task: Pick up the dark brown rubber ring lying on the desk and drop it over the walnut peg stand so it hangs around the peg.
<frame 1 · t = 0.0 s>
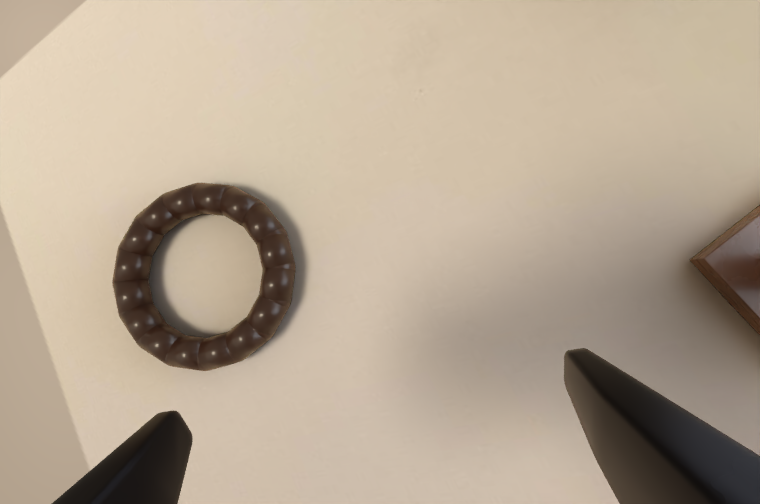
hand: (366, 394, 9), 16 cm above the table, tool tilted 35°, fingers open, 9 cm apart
ring: (203, 274, 26), point 1 cm above the table
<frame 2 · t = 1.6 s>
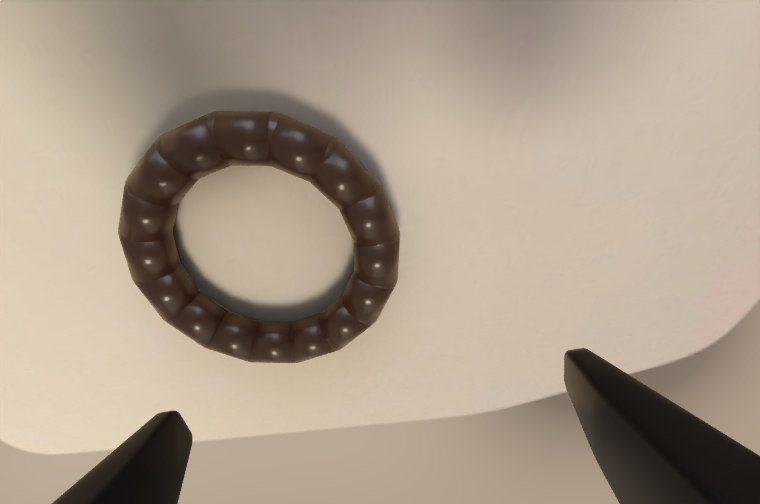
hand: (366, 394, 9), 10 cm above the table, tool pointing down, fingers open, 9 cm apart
ring: (264, 253, 18), point 1 cm above the table
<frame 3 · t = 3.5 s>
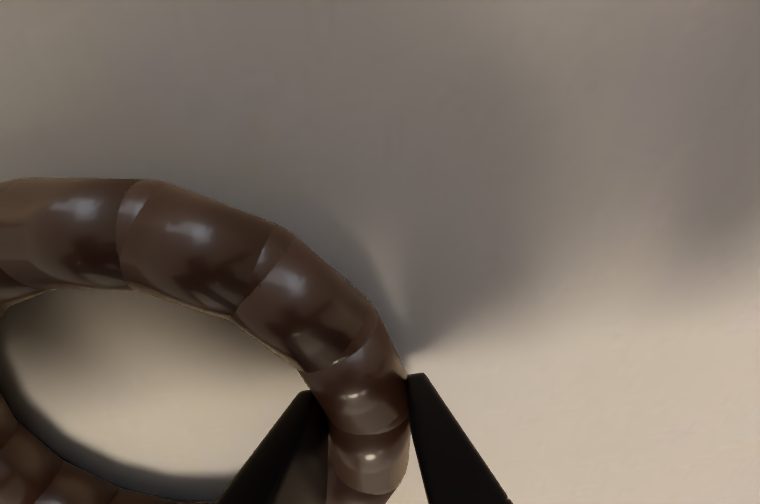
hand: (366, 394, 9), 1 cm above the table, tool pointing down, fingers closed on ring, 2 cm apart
ring: (160, 424, 9), point 1 cm above the table, touching gripper
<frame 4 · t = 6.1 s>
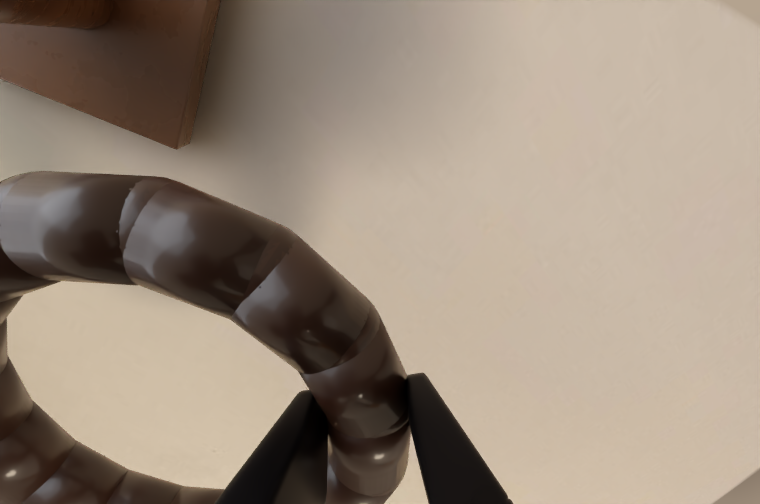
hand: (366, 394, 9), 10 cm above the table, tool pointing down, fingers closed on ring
ring: (165, 414, 10), point 10 cm above the table, touching gripper
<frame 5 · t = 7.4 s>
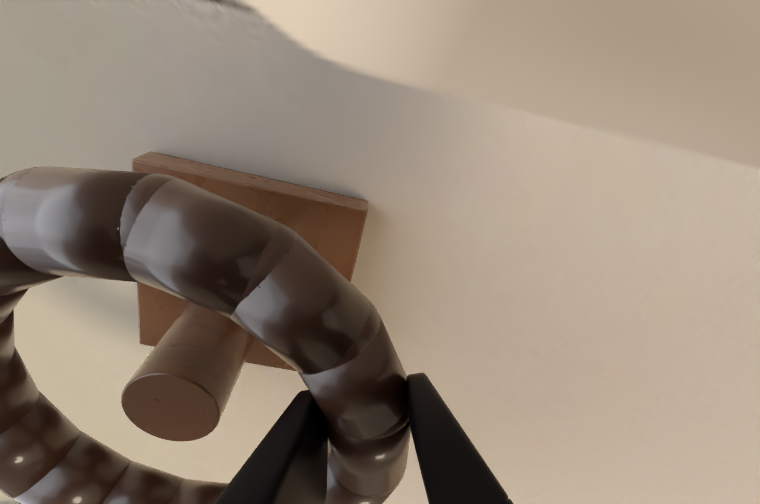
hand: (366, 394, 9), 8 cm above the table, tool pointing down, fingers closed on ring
peg stand: (252, 268, 16), on the table
ring: (167, 408, 10), point 7 cm above the table, tilted 5°, touching gripper
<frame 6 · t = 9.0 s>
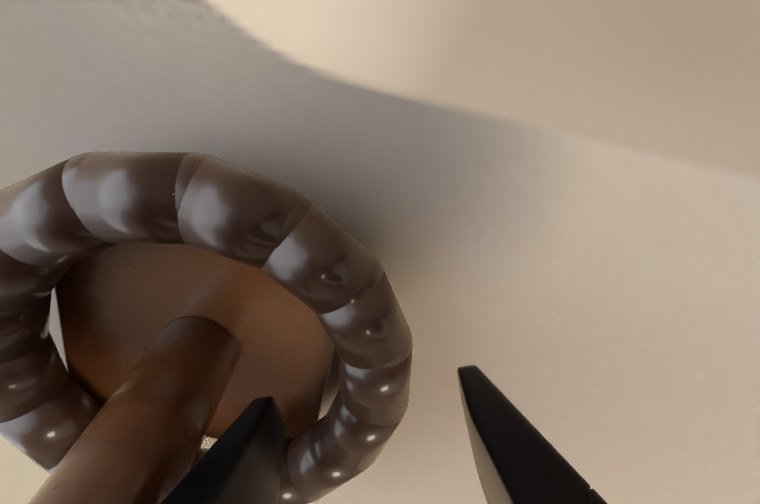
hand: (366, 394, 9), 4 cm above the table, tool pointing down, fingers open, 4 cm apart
peg stand: (214, 324, 13), on the table
ring: (196, 369, 11), point 2 cm above the table, touching peg stand
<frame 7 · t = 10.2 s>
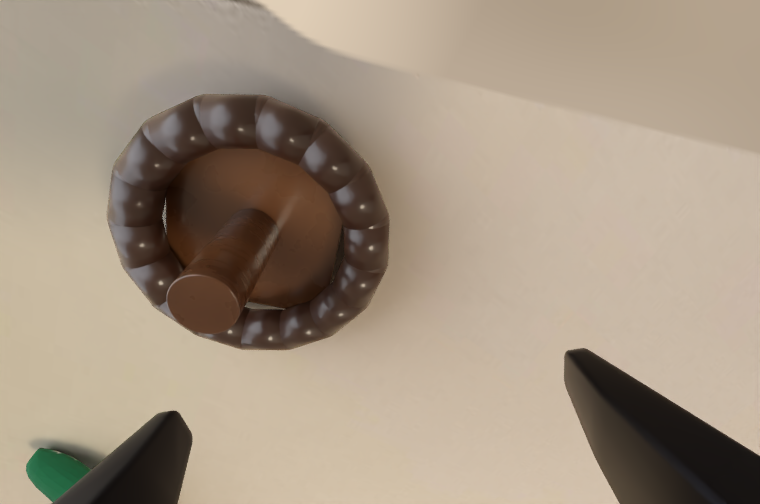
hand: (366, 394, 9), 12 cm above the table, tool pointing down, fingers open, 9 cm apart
peg stand: (260, 222, 20), on the table
gaming controller: (93, 484, 29), on the table
ring: (254, 239, 17), point 2 cm above the table, touching peg stand
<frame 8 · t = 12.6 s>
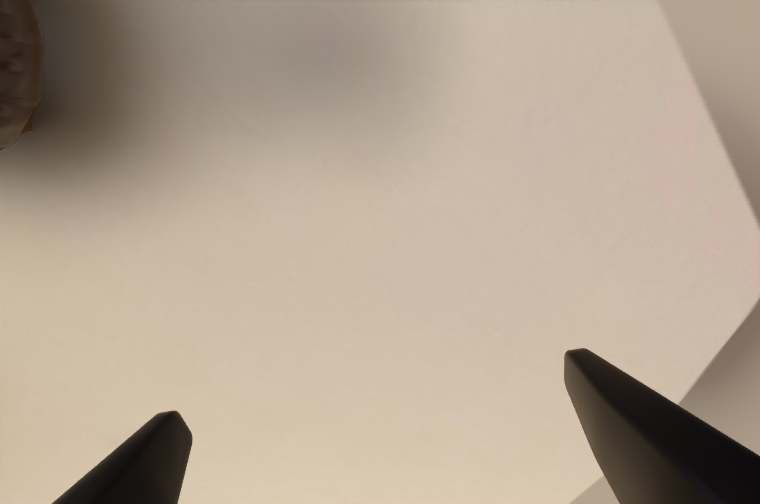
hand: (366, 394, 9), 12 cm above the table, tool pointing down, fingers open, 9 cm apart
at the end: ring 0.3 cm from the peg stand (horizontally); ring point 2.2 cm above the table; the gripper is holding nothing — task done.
